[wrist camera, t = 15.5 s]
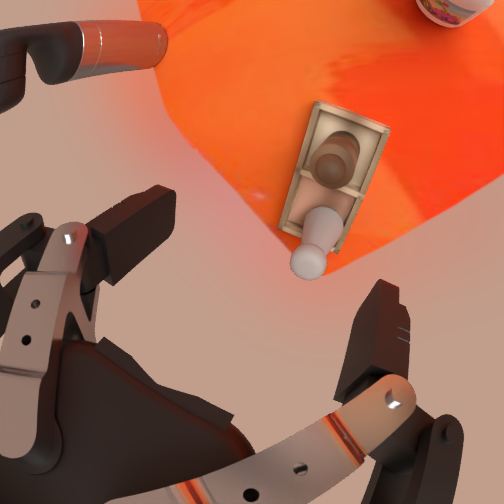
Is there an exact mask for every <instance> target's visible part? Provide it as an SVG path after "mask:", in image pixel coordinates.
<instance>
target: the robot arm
mask: <svg viewBox="0 0 504 504" xmlns="http://www.w3.org/2000/svg"><path fill="white" fill-rule="evenodd" d="M166 48H167V34H166V31H165V30H164V28H163V27H162V26H161V25H160V24H158V23H154V22H144V21H127V20H88V21H71V22H60V23H50V24H41V25H32V26H24V27H16V28H8V29H3V30H0V114H1V113H3V112H5V111H7V110H9V109H11V108H12V107H14V106H16V105H17V104H18V103H19V102H20V101H21V100H22V99H23V97H24V94H25V81H26V77H25V74H26V54H27V52H28V53H29V55H30V56H31V57H32V60H33V62H34V64H35V67H36V70H37V73H38V75H39V77H40V79H41V80H42V81H43V82H44V83H46V84H48V85H55V84H60V83H64V82H68V81H72V80H77V79H81V78H86V77H91V76H96V75H102V74H108V73H115V72H123V71H131V70H141V69H148V68H151V67H154V66H155V65H156V64H158V63H159V62H160V61H161V59H162V58H163V56H164V54H165V52H166ZM175 207H176V192H175V191H174V190H171V189H169V188H166V187H163V186H161V185H155V186H153V187H151V188H150V189H148V190H146V191H145V192H141V193H137V194H134V195H131V196H129V197H127V198H126V199H124V200H122V201H121V203H118V204H116V205H114V206H113V208H110V209H108V210H106V211H105V212H103V213H102V214H100V215H99V216H97V217H96V218H94V219H93V220H91V221H90V222H88V223H87V224H85V225H84V224H83V223H80V222H69V223H65V224H63V225H61V226H59V227H58V228H56V229H53V228H49V227H45V226H44V222H43V218H42V216H41V215H40V214H38V213H28V214H25V215H23V216H21V217H19V218H18V219H16V220H15V221H14V222H12V223H11V224H9V225H8V226H7V227H5V228H4V229H3V230H1V231H0V275H1V273H2V272H3V270H4V269H5V268H7V267H8V266H9V265H10V264H11V263H12V262H14V261H15V260H16V259H17V258H18V257H19V256H21V258H22V261H23V263H24V266H25V268H24V269H23V270H22V271H21V272H20V273H19V274H18V275H17V276H15V277H14V278H13V279H12V280H11V281H10V282H9V283H8V284H7V285H6V286H5V287H2V286H1V283H0V338H1V336H2V335H3V334H4V333H5V335H4V339H3V343H2V347H1V352H0V504H307V503H309V502H311V501H312V500H314V499H315V498H317V497H318V496H320V495H322V494H323V493H325V492H326V491H327V490H329V489H331V488H332V487H333V486H335V485H336V484H338V483H339V482H340V481H342V480H343V479H345V477H347V476H349V475H350V474H351V473H352V472H354V471H355V470H356V469H358V468H359V467H360V466H361V465H362V464H363V463H364V458H365V457H366V456H367V455H369V456H370V457H371V458H373V459H374V460H376V463H375V466H374V469H373V472H372V475H371V478H370V481H369V484H368V486H367V489H366V492H365V494H364V497H363V500H362V502H361V504H452V503H453V499H454V495H455V490H456V486H457V481H458V476H459V470H460V464H461V457H462V450H463V441H464V433H463V429H462V426H461V424H460V423H459V421H458V420H457V419H456V418H455V417H453V416H452V415H448V414H445V415H442V416H440V417H438V418H436V419H434V418H433V417H431V416H430V415H429V414H427V413H426V412H425V411H423V410H422V409H421V408H420V407H418V406H417V405H416V394H415V391H414V389H413V387H412V385H411V384H410V383H409V382H408V368H409V351H410V344H409V342H410V317H409V314H408V312H407V309H406V306H404V305H401V304H399V287H397V286H395V285H393V284H391V283H388V282H386V281H384V280H382V279H379V280H378V281H377V282H376V284H375V285H374V287H373V288H372V290H371V292H370V293H369V295H368V296H367V297H366V299H365V300H364V302H363V303H362V305H361V307H360V308H359V310H358V312H357V314H356V316H355V318H354V321H353V325H352V329H351V334H350V339H349V342H348V347H347V351H346V355H345V359H344V363H343V367H342V371H341V374H340V378H339V381H338V385H337V389H336V392H335V395H334V399H333V400H335V401H338V402H341V403H343V404H342V407H341V408H339V409H338V410H336V411H335V412H333V413H330V414H328V415H326V416H325V417H323V418H321V419H320V420H318V421H316V422H315V423H313V424H311V425H310V426H308V427H306V428H305V429H303V430H301V431H299V432H298V433H296V434H294V435H293V436H290V437H288V438H286V439H285V440H283V441H281V442H279V443H277V444H275V445H273V446H271V447H269V448H267V449H265V450H263V451H261V452H259V453H257V454H256V453H255V451H254V449H253V447H252V446H251V444H250V442H249V441H248V440H247V438H246V437H245V436H244V435H243V434H242V433H241V432H240V431H239V429H238V428H236V427H235V426H234V425H233V424H231V423H230V422H231V420H232V418H233V416H234V415H233V414H231V413H229V412H227V411H225V410H223V409H221V408H219V407H217V406H215V405H213V404H211V403H209V402H207V401H205V400H203V399H201V398H200V397H197V396H194V395H190V394H187V393H183V392H180V391H176V390H173V389H170V388H167V387H164V386H161V385H159V384H157V383H156V382H154V381H153V380H152V378H150V376H148V374H147V373H146V372H145V371H144V370H143V369H142V368H141V367H140V365H139V364H138V363H137V362H136V361H135V360H134V359H133V358H132V356H131V355H129V354H128V353H126V352H125V351H123V350H122V349H121V348H119V347H118V346H116V345H115V344H113V343H112V342H111V341H109V340H108V339H107V338H105V337H103V338H102V339H101V341H99V343H96V338H95V320H96V312H97V304H98V298H99V291H100V286H99V283H100V282H101V281H102V280H105V281H106V282H108V283H109V284H110V285H112V286H114V285H115V284H116V283H117V282H118V281H120V280H121V279H122V278H123V277H124V276H125V275H126V274H127V273H128V272H130V271H131V270H132V269H133V268H134V267H135V266H136V265H137V264H139V263H140V262H141V261H142V260H143V259H144V258H145V257H147V256H148V255H149V254H150V253H151V252H152V251H154V250H155V249H156V248H157V247H158V246H159V245H161V244H162V243H163V242H164V241H165V240H166V239H168V238H169V236H170V235H171V233H172V231H173V229H174V224H175Z"/></svg>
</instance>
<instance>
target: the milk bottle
mask: <svg viewBox="0 0 504 504" xmlns="http://www.w3.org/2000/svg"><path fill="white" fill-rule="evenodd" d="M494 1H495V0H416V3H417V5H418V7H419V8H420V10H421V11H422V12H423V13H424V14H425V15H426V16H427V17H428V18H429V19H430V20H432V21H433V22H435V23H437V24H439V25H441V26H445V27H450V28H455V27H459V26H462V25H464V24H465V23H467V22H468V21H470V20H471V19H473V18H474V17H476V16H477V15H479V14H480V13H482V12H483V11H485V10H486V9H487V8H489V7H490V6H491V5H492V4H493V2H494Z"/></svg>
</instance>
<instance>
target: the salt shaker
mask: <svg viewBox="0 0 504 504" xmlns="http://www.w3.org/2000/svg"><path fill="white" fill-rule="evenodd" d="M343 230H344V227H343V220H342V218H341V217H340V215H339V214H338V212H337V211H336V210H334V209H332V208H329V207H326V206H320V207H317V208H314V209H312V210H311V211H310V212H309V213H308V214H307V215H306V217H305V221H304V226H303V234H302V241H301V245H300V246H298V247H297V248H296V249H295V250H294V251H293V253H292V255H291V259H290V267H291V270H292V271H293V272H294V274H295V275H296V276H298V277H300V278H301V279H305V280H315V279H318V278H319V277H320V276H321V275H322V274H323V273H324V271H325V268H326V266H327V259H326V256H327V254H328V253H329V252H330V250H331V249H332V248H333V246H334V245H335V244H336V243H337V241H338V240H339V239H340V237H341V235H342V232H343Z"/></svg>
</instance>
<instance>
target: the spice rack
mask: <svg viewBox="0 0 504 504" xmlns="http://www.w3.org/2000/svg"><path fill="white" fill-rule="evenodd" d="M336 131H347V132H349V133H351V134H353V135H354V136H355V137H356V138H357V140H358V142H359V144H360V154H359V157H358V161H357V165H356V168H355V172H354V175H353V178H352V179H351V181H350V182H349V183H348V184H347V185H346V186H344V187H342V188H338V189H329V188H326V187H323V186H321V185H320V184H319V183H317V182H316V181H315V179H314V178H313V177H312V175H311V172H310V168H309V162H310V158H311V156H312V154H313V153H314V152H315V150H316V149H317V148H318V147H319V146H320V145H321V144H322V143H323V142H324V141H325V140H326V139H327V138H328V137H329V136H330V135H331V134H332V133H334V132H336ZM390 131H391V130H390V127H389V126H386V125H384V124H382V123H379V122H377V121H375V120H372V119H370V118H368V117H365V116H363V115H360V114H358V113H355V112H352V111H350V110H347V109H344V108H342V107H339V106H336V105H333V104H330V103H328V102H325V101H322V100H317V101H315V103H314V107H313V110H312V114H311V117H310V121H309V124H308V128H307V131H306V134H305V138H304V141H303V145H302V148H301V152H300V155H299V158H298V162H297V165H296V168H295V172H294V175H293V179H292V182H291V185H290V189H289V192H288V195H287V198H286V202H285V205H284V208H283V212H282V215H281V218H280V221H279V225H278V229H280V230H283V231H285V232H287V233H290V234H292V235H295V236H297V237H299V238H302V234H303V226H304V221H305V217H306V215H307V214H308V213H309V212H310V211H311V210H312V209H314V208H317V207H320V206H326V207H329V208H332V209H334V210H336V211H337V212H338V214H339V215H340V217H341V218H342V220H343V227H344V230H343V232H342V235H341V237H340V239H339V240H338V241H337V243H336V244H335V245H334V246H333V248H332V249H331V250H330V251H331V252H334V253H336V254H338V253H339V251H340V248H341V246H342V244H343V242H344V240H345V238H346V236H347V234H348V232H349V229H350V227H351V225H352V223H353V221H354V218H355V216H356V214H357V212H358V209H359V207H360V205H361V203H362V200H363V198H364V196H365V193H366V191H367V189H368V186H369V184H370V182H371V179H372V177H373V174H374V172H375V169H376V167H377V165H378V162H379V160H380V157H381V154H382V152H383V149H384V147H385V144H386V141H387V139H388V136H389V134H390Z"/></svg>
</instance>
